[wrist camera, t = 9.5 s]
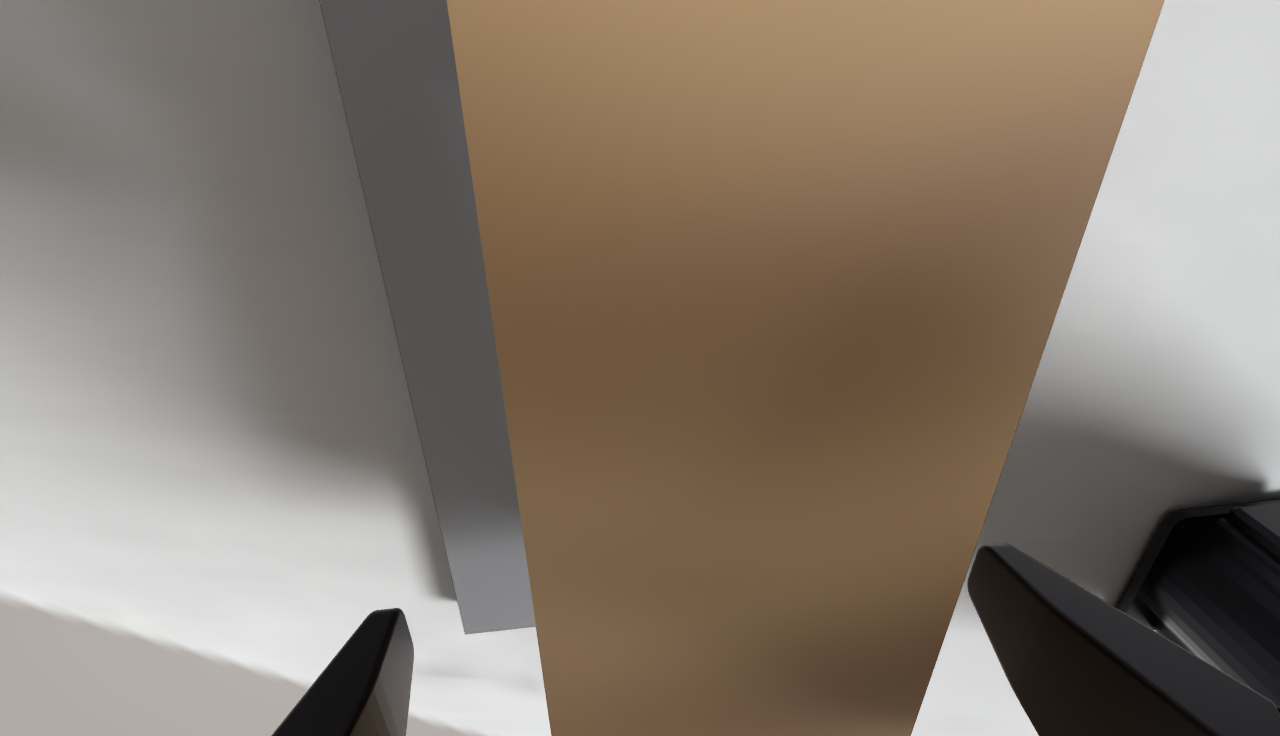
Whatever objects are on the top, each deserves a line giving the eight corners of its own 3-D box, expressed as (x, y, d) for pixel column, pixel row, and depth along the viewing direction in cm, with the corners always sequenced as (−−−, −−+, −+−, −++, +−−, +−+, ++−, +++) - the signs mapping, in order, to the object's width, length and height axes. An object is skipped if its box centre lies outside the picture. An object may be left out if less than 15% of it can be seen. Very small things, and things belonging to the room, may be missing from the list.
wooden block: (758, 711, 16) (831, 963, 12) (579, 734, 16) (589, 1004, 12) (854, -11, 8) (1172, -24, 4) (501, -6, 8) (445, -15, 4)
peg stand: (805, 568, 23) (881, 738, 18) (469, 604, 22) (443, 798, 17) (917, -118, 13) (1169, -200, 8) (311, -120, 12) (120, -217, 7)
